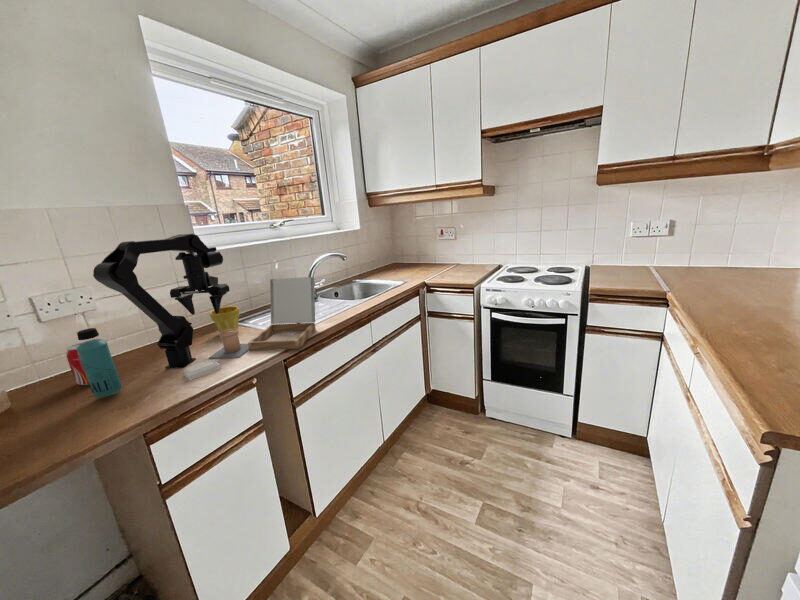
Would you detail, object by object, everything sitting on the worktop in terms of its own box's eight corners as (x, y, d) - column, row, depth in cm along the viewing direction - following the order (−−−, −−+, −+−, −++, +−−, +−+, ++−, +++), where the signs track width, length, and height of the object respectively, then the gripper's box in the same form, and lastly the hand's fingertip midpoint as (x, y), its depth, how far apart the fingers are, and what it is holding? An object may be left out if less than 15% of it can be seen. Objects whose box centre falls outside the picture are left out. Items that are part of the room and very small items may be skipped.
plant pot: (232, 337, 132) (226, 313, 130) (209, 337, 135) (203, 314, 132) (248, 327, 142) (243, 305, 139) (227, 327, 144) (221, 306, 142)
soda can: (84, 378, 106) (71, 343, 103) (111, 373, 109) (99, 339, 105) (72, 389, 100) (58, 352, 97) (101, 383, 102) (88, 347, 99)
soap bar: (184, 376, 103) (182, 368, 103) (215, 365, 110) (214, 358, 109) (189, 381, 100) (187, 373, 99) (221, 369, 106) (219, 362, 105)
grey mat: (239, 357, 113) (239, 356, 113) (209, 358, 114) (208, 357, 114) (255, 344, 124) (255, 343, 123) (227, 345, 125) (227, 344, 125)
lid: (313, 276, 134) (314, 277, 135) (270, 279, 136) (271, 279, 136) (314, 322, 133) (315, 322, 133) (271, 324, 135) (271, 324, 135)
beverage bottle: (121, 387, 99) (99, 323, 93) (127, 394, 95) (104, 327, 89) (92, 398, 94) (67, 331, 88) (97, 405, 90) (71, 336, 84)
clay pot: (236, 353, 116) (231, 334, 114) (220, 353, 116) (215, 334, 114) (245, 346, 121) (241, 328, 119) (230, 347, 122) (225, 328, 120)
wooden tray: (298, 348, 116) (297, 340, 116) (249, 350, 118) (247, 342, 117) (315, 329, 134) (314, 322, 133) (272, 331, 135) (271, 324, 135)
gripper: (233, 265, 123) (242, 306, 127) (186, 268, 125) (196, 308, 129) (214, 271, 112) (225, 315, 116) (163, 274, 114) (175, 317, 118)
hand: (205, 313), depth 120 cm, fingers open, 9 cm apart
